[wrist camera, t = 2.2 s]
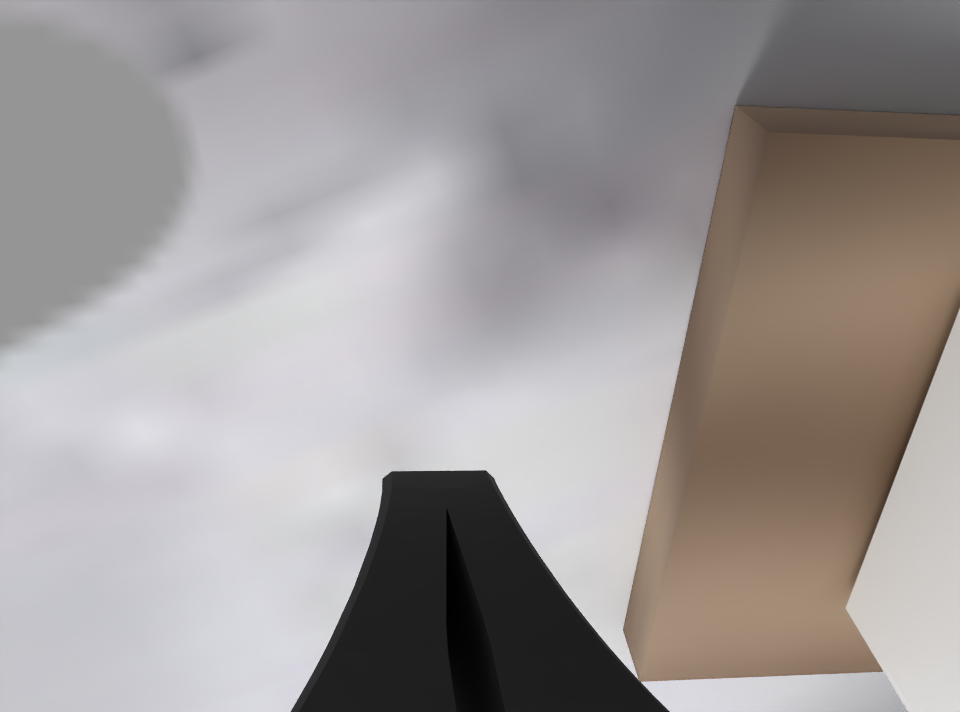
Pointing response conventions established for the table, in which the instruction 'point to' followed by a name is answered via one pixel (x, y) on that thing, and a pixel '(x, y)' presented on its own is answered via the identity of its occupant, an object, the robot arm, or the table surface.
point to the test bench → (796, 390)
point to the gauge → (920, 556)
